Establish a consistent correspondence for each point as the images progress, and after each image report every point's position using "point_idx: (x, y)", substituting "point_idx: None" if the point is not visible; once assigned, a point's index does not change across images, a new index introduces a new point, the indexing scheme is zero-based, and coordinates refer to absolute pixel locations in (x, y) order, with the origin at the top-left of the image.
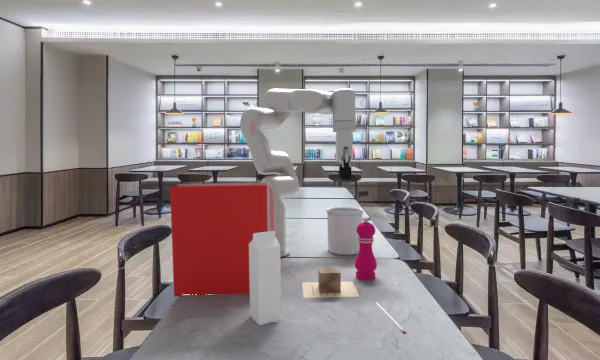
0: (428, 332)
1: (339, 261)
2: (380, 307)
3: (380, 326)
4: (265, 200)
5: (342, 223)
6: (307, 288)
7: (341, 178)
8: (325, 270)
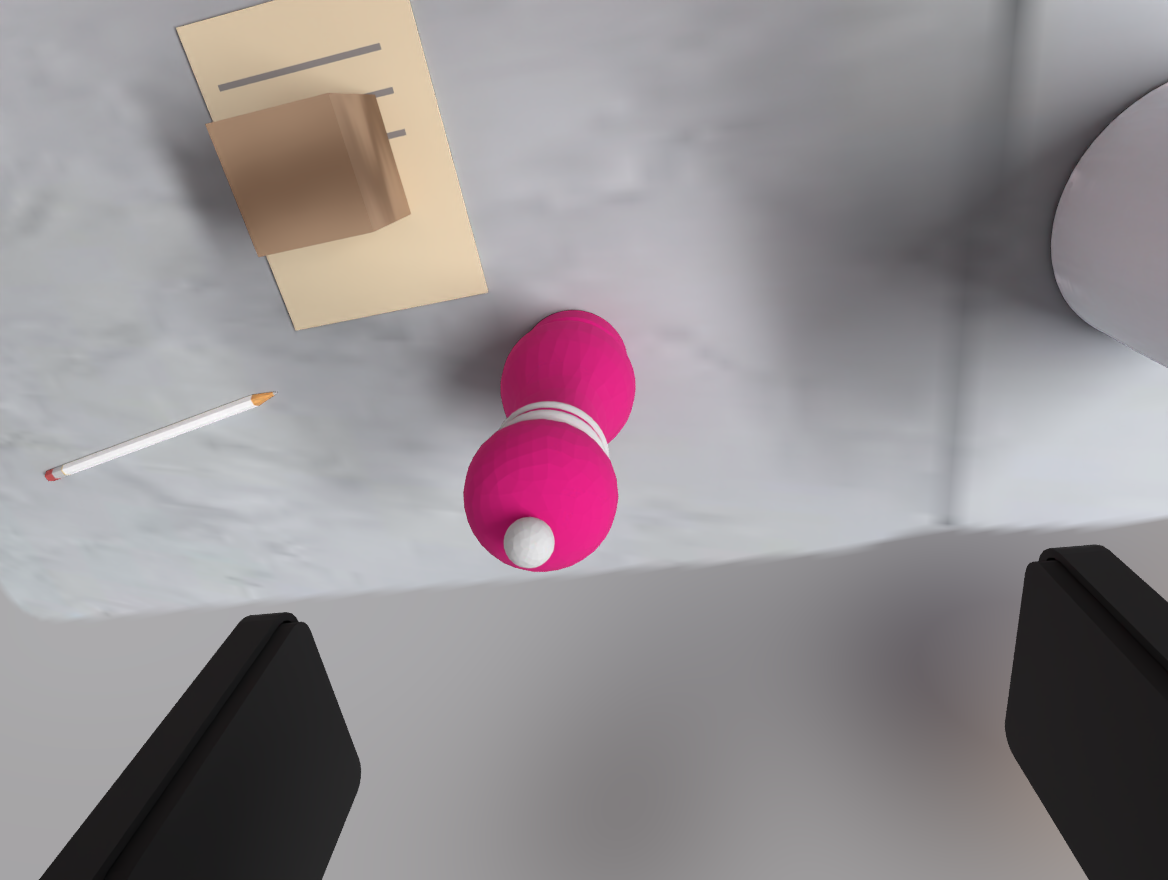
0: (93, 542)
1: (889, 188)
2: (207, 415)
3: (60, 404)
4: None
5: None
6: (311, 27)
7: (236, 628)
8: (268, 155)
